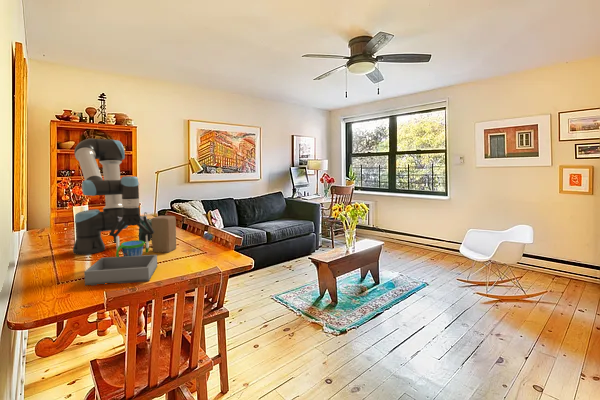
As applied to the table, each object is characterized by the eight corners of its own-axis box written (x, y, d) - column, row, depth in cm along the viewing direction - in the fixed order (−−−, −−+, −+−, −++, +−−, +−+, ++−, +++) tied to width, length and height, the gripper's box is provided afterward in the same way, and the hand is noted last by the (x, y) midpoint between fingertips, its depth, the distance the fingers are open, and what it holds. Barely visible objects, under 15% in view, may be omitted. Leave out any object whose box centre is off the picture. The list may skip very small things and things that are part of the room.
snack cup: (120, 268, 149) (119, 247, 148) (112, 263, 156) (111, 243, 155) (153, 260, 161) (152, 241, 160) (144, 256, 168) (143, 238, 166)
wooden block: (177, 248, 185) (176, 215, 183) (168, 253, 175) (167, 218, 173) (161, 247, 186) (160, 215, 184) (151, 252, 176) (150, 217, 174)
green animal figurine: (135, 242, 199) (134, 211, 196) (145, 240, 204) (144, 210, 202) (152, 247, 187) (151, 214, 185) (162, 245, 193) (161, 213, 190)
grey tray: (85, 285, 127) (84, 271, 126) (102, 269, 146) (101, 257, 145) (148, 281, 133) (148, 267, 132) (157, 266, 152) (156, 254, 151)
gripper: (100, 208, 148) (102, 251, 150) (156, 207, 155) (158, 248, 157) (105, 206, 155) (107, 248, 157) (159, 205, 162) (160, 245, 164)
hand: (133, 248), depth 157 cm, fingers open, 13 cm apart
